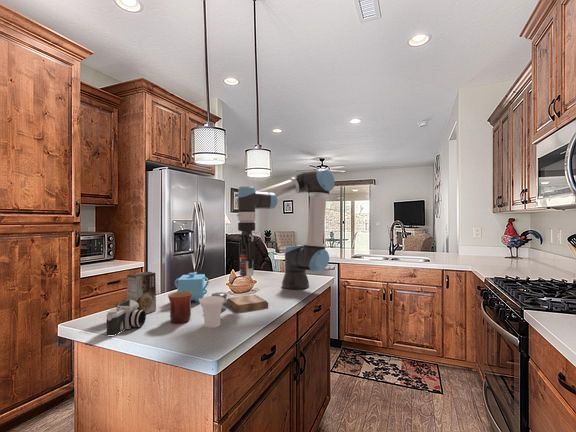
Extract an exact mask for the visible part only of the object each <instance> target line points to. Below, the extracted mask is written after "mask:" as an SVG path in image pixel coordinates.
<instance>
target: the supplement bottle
mask: <svg viewBox="0 0 576 432" xmlns="http://www.w3.org/2000/svg"><path fill="white" fill-rule="evenodd" d="M246 260H247V253H246V249H243V250H242V254H241V255H240V257H239V275H240V276H242V277H247V276H246Z"/></svg>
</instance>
